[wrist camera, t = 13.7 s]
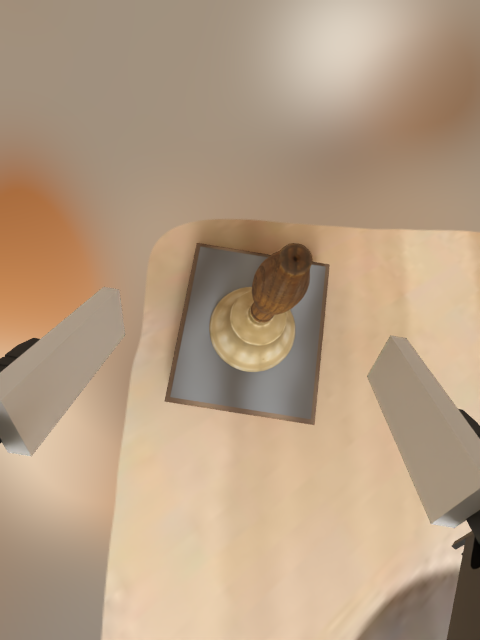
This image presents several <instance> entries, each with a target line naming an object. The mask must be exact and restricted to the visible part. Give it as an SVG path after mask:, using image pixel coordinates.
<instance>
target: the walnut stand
mask: <svg viewBox="0 0 480 640" xmlns="http://www.w3.org/2000/svg"><path fill="white" fill-rule="evenodd" d="M269 256H270V255H267V254H261V253H255V252H249V251H243V250H237V249H230V248H224V247H218V246H212V245H206V244H200V243H197V245H196V250H195V255H194V260H193V265H192V270H191V275H190V280H189V285H188V289H187V294H186V299H185V304H184V309H183V314H182V319H181V324H180V329H179V334H178V338H177V343H176V348H175V353H174V358H173V363H172V368H171V373H170V378H169V383H168V387H167V392H166V397H165V401H166V402H172V403H178V404H185V405H191V406H197V407H204V408H210V409H216V410H223V411H229V412H235V413H242V414H248V415H254V416H261V417H267V418H273V419H280V420H286V421H292V422H299V423H305V424H311V425H314V424H315V413H316V403H317V392H318V382H319V371H320V360H321V350H322V339H323V328H324V318H325V307H326V297H327V286H328V275H329V264H323V263H317V262H312V265H311V268H310V283H309V286H308V289H307V292H306V294H305V295H304V297H303V298H302V300H301V301H300V302H299V303H298V304H297V305H295V306H294V307H293V308H292V309H290V310H291V312H292V315H293V317H294V321H295V339H294V343H293V346H292V348H291V350H290V352H289V353H288V355H287V356H286V357H285V358H284V359H283V360H282V361H281V362H280V363H279V364H277V365H276V366H274V367H272V368H270V369H268V370H265V371H260V372H247V371H242V370H239V369H236V368H234V367H232V366H230V365H229V364H227V363H226V362H225V361H224V360H223V359H222V358H221V357H220V356H219V355H218V354H217V352H216V350H215V349H214V347H213V345H212V342H211V338H210V332H209V325H210V319H211V315H212V313H213V311H214V309H215V307H216V305H217V304H218V303H219V301H220V300H221V299H222V298H223V297H224V296H226V295H227V294H229V293H230V292H232V291H234V290H237V289H240V288H244V287H252V283H253V279H254V275H255V273H256V271H257V269H258V268H259V266H260V265H261V263H262V262H263V261H264V260H265V259H267V258H268V257H269Z"/></svg>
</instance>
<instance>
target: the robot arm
mask: <svg viewBox="0 0 480 640" xmlns="http://www.w3.org/2000/svg"><path fill="white" fill-rule="evenodd" d="M124 336H125V330H124V322H123V314H122V306H121V298H120V291H119V289H114V288H107V287H103V288H102V289H100V290H99V291H98V292H97V293H95V294H94V295H93V296H92V297H91V298H89V299H88V300H87V301H86V302H85V303H83V304H82V305H81V306H80V307H79V308H77V309H76V310H75V311H74V312H73V313H72V314H70V315H69V316H68V317H67V318H66V319H64V320H63V321H62V322H61V323H59V324H58V325H57V326H56V327H55V328H53V329H52V330H51V331H50V332H48V333H47V334H46V335H45V336H44V337H42V338H41V339H37V338H32V339H30V340H28V341H26V342H24V343H21V344H19V345H17V346H16V347H15V348H13V349H12V350H11V351H10V352H8V353H7V354H6V355H5V357H2V358H1V359H0V443H1V442H2V443H3V445H4V446H5V448H6V450H7V451H8V452H9V453H16V454H21V455H27V456H32V455H33V454H34V452H35V451H36V450H37V449H38V447H39V446H40V445H41V443H42V442H43V441H44V440H45V438H46V437H47V436H48V434H49V433H50V432H51V430H52V429H53V428H54V427H55V425H56V424H57V423H58V421H59V420H60V419H61V418H62V416H63V415H64V414H65V412H66V411H67V410H68V408H69V407H70V406H71V404H72V403H73V402H74V401H75V399H76V398H77V397H78V396H79V394H80V393H81V392H82V390H83V389H84V388H85V387H86V385H87V384H88V383H89V381H90V380H91V379H92V377H93V376H94V375H95V374H96V372H97V371H98V370H99V368H100V367H101V366H102V364H103V363H104V362H105V360H106V359H107V358H108V357H109V355H110V354H111V353H112V352H113V350H114V349H115V347H116V346H117V345H118V344H119V343H120V341H121V340H122V339H123V337H124ZM367 377H368V380H369V382H370V384H371V387H372V389H373V391H374V393H375V396H376V398H377V400H378V403H379V405H380V407H381V410H382V412H383V414H384V417H385V419H386V421H387V423H388V426H389V428H390V430H391V433H392V435H393V437H394V440H395V442H396V444H397V447H398V449H399V451H400V453H401V456H402V458H403V460H404V463H405V465H406V467H407V470H408V472H409V474H410V477H411V479H412V481H413V483H414V486H415V488H416V490H417V493H418V495H419V497H420V500H421V502H422V504H423V507H424V509H425V511H426V513H427V516H428V518H429V520H430V523H431V524H434V525H440V526H446V527H452V528H455V527H456V526H458V525H459V524H461V523H462V522H464V521H466V520H467V522H468V524H469V526H470V528H471V529H472V531H471V532H470V533H468V534H466V535H465V536H463V537H461V538H460V539H458V540H456V541H455V542H454V543H453V545H452V547H453V548H454V549H457V548H459V547H461V546H463V545H465V546H464V551H463V553H462V555H463V557H462V562H461V567H460V572H459V578H458V583H457V588H456V594H455V599H454V604H453V610H452V615H451V620H450V625H449V631H448V636H447V640H480V426H479V424H478V423H477V422H476V421H475V420H474V419H473V418H471V417H470V416H469V415H468V414H467V413H466V412H465V411H463V410H460V409H458V408H457V407H456V406H455V404H454V403H453V402H452V400H451V399H450V397H449V396H448V395H447V393H446V392H445V391H444V389H443V388H442V386H441V385H440V384H439V382H438V381H437V380H436V378H435V377H434V375H433V374H432V373H431V371H430V370H429V369H428V367H427V366H426V365H425V363H424V362H423V360H422V359H421V358H420V356H419V355H418V354H417V352H416V351H415V349H414V348H413V347H412V345H411V344H410V343H409V341H408V340H407V338H403V337H397V336H391V335H390V337H389V339H388V341H387V342H386V344H385V346H384V348H383V349H382V351H381V353H380V354H379V356H378V358H377V360H376V361H375V363H374V365H373V367H372V368H371V370H370V372H369V374H368V375H367Z"/></svg>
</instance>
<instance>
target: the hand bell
mask: <svg viewBox="0 0 480 640" xmlns="http://www.w3.org/2000/svg"><path fill="white" fill-rule="evenodd" d="M311 265H312V256H311V253H310V251H309V250H308V249H307V248H306V247H305V246H303V245H301V244H296V243H292V244H288V245H287V246H285V247H283V248H282V249H281V250H280V251H278V252H276V253H274V254H272V255H270V256H269V257H268V258H267V259H265V260H264V261H263V262H262V263H261V265H260V266H259V268H258V269H257V271H256V273H255V275H254V279H253V283H252V287H244V288H240V289H237V290H234V291H232V292H230V293H229V294H227V295H226V296H224V297H223V298H222V299H221V300H220V301H219V303H218V304H217V305H216V307H215V309H214V311H213V313H212V315H211V319H210V325H209V332H210V338H211V342H212V345H213V347H214V349H215V350H216V352H217V354H218V355H219V356H220V357H221V358H222V359H223V360H224V361H225V362H226V363H227V364H229V365H230V366H232V367H234V368H236V369H239V370H242V371H247V372H260V371H265V370H268V369H270V368H272V367H274V366H276V365H277V364H279V363H280V362H281V361H282V360H283V359H284V358H285V357H286V356H287V355H288V353H289V352H290V350H291V348H292V346H293V343H294V339H295V321H294V317H293V315H292V312H291V310H290V309H292V308H293V307H294V306H295V305H297V304H298V303H299V302H300V301H301V300H302V298H303V297H304V295H305V294H306V292H307V289H308V286H309V283H310V268H311Z"/></svg>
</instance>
